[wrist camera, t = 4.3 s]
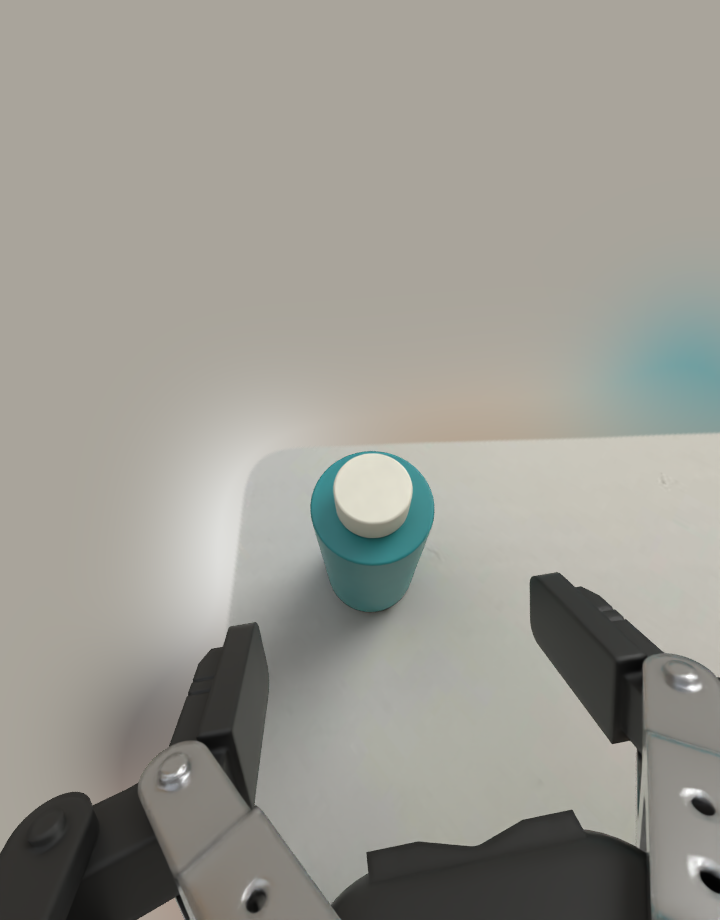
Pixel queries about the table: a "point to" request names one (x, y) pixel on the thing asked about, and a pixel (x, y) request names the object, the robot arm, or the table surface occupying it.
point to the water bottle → (371, 527)
